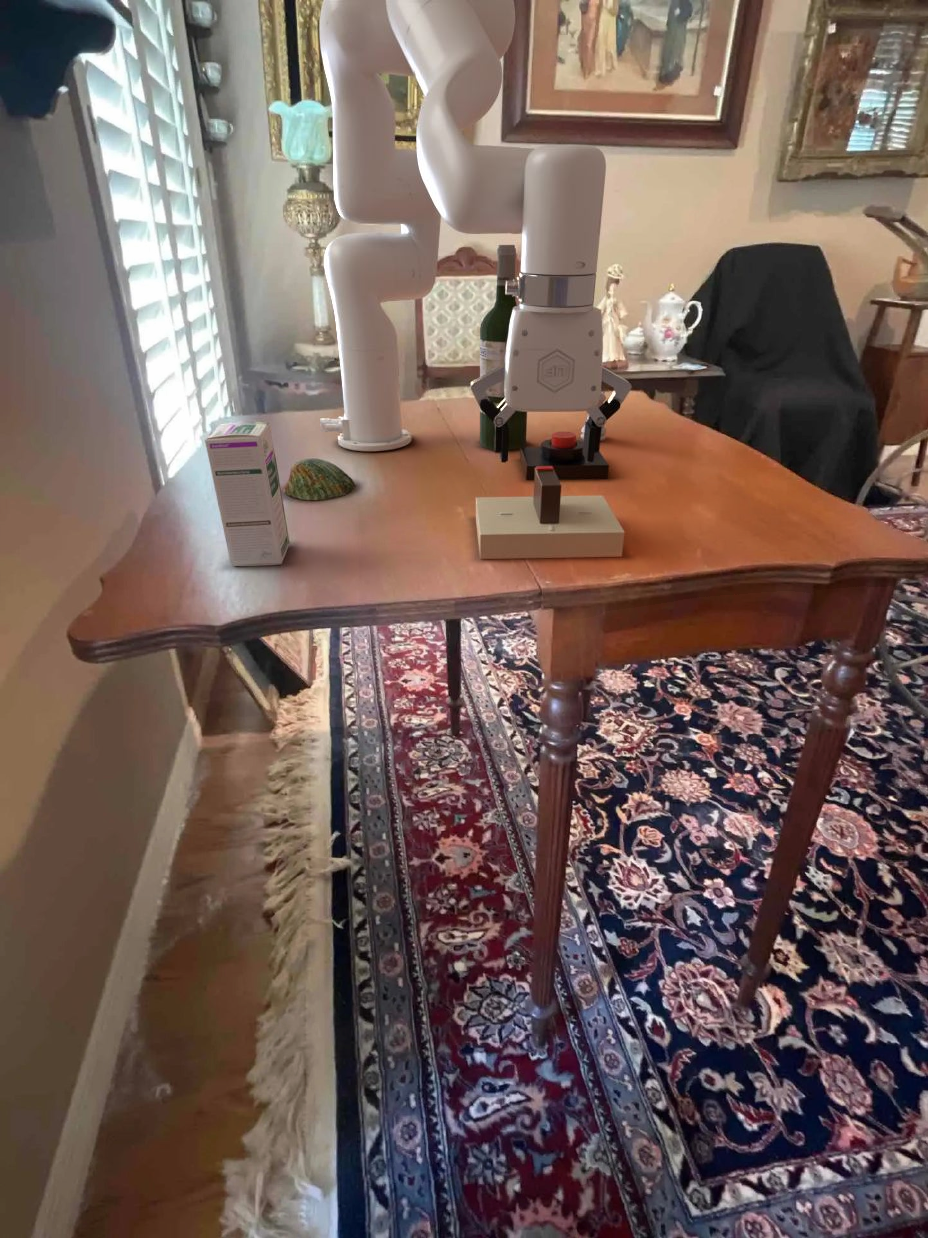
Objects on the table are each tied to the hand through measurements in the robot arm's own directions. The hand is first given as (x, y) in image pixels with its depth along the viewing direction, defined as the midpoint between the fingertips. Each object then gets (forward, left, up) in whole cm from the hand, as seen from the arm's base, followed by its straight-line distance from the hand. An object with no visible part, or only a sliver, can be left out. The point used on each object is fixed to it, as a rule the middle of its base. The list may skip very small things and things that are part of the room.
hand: (545, 458), depth 78 cm
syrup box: (-33, -4, -10) cm, 34 cm away
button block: (+6, +26, -10) cm, 28 cm away
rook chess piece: (+14, +43, -10) cm, 46 cm away
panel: (0, 0, -10) cm, 9 cm away
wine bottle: (-2, +40, -10) cm, 41 cm away
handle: (0, 0, -6) cm, 6 cm away
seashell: (-30, +19, -10) cm, 36 cm away
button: (+6, +26, -6) cm, 27 cm away
